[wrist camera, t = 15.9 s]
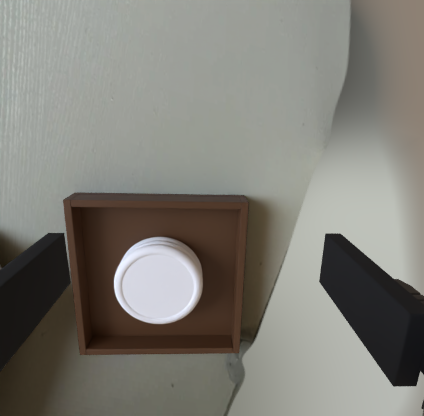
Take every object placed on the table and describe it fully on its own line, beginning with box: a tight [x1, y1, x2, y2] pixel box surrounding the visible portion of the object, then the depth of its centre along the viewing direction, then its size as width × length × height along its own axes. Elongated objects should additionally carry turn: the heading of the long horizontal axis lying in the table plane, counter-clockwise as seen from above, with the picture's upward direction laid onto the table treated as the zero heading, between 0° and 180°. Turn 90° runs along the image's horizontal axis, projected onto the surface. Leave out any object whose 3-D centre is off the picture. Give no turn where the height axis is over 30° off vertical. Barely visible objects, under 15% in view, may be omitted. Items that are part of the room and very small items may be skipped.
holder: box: [63, 193, 249, 355], centre depth 37 cm, size 20×20×3 cm
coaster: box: [114, 237, 203, 324], centre depth 36 cm, size 10×10×4 cm
